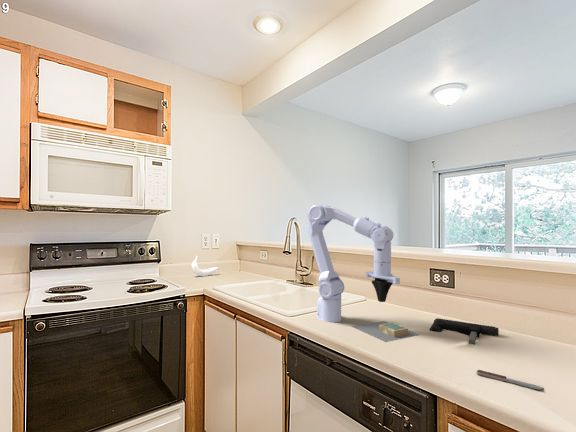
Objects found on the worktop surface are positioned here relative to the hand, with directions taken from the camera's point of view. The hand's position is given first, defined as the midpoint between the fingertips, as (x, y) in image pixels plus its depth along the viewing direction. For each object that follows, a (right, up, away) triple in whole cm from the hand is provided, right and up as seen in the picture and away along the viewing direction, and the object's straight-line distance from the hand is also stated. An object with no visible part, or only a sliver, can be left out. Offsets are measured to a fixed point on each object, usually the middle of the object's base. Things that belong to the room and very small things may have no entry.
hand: (381, 301), depth 116 cm
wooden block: (+1, -9, -1) cm, 9 cm away
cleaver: (+21, -10, -35) cm, 42 cm away
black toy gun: (+26, -11, -3) cm, 29 cm away
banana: (-89, -12, +113) cm, 144 cm away
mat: (+1, -10, -1) cm, 10 cm away
